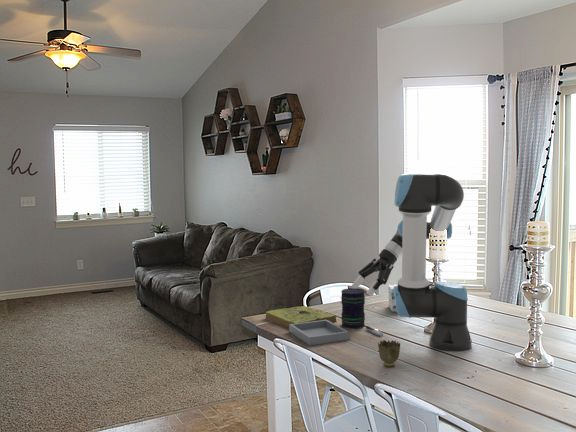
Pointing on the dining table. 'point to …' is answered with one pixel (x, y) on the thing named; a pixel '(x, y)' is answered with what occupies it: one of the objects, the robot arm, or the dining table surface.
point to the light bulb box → (392, 298)
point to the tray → (318, 332)
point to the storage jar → (353, 308)
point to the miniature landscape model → (298, 315)
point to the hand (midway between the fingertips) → (360, 291)
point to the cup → (389, 352)
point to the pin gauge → (374, 330)
